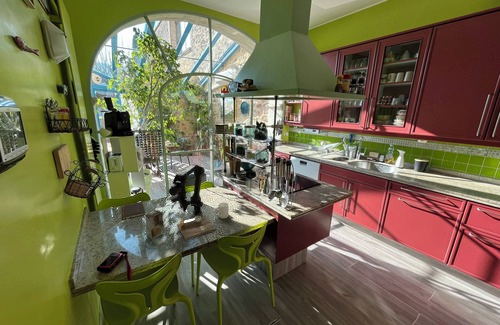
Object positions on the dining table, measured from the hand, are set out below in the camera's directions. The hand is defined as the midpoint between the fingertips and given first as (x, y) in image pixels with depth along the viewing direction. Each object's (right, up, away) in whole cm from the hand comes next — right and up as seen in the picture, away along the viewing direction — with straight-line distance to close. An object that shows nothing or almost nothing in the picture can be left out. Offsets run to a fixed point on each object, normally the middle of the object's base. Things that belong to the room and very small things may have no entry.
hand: (183, 209), depth 150 cm
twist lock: (+6, -11, 0) cm, 12 cm away
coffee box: (-15, -15, -10) cm, 24 cm away
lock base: (+10, -13, -2) cm, 17 cm away
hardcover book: (-49, -7, +21) cm, 54 cm away
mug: (+26, -9, +15) cm, 32 cm away
